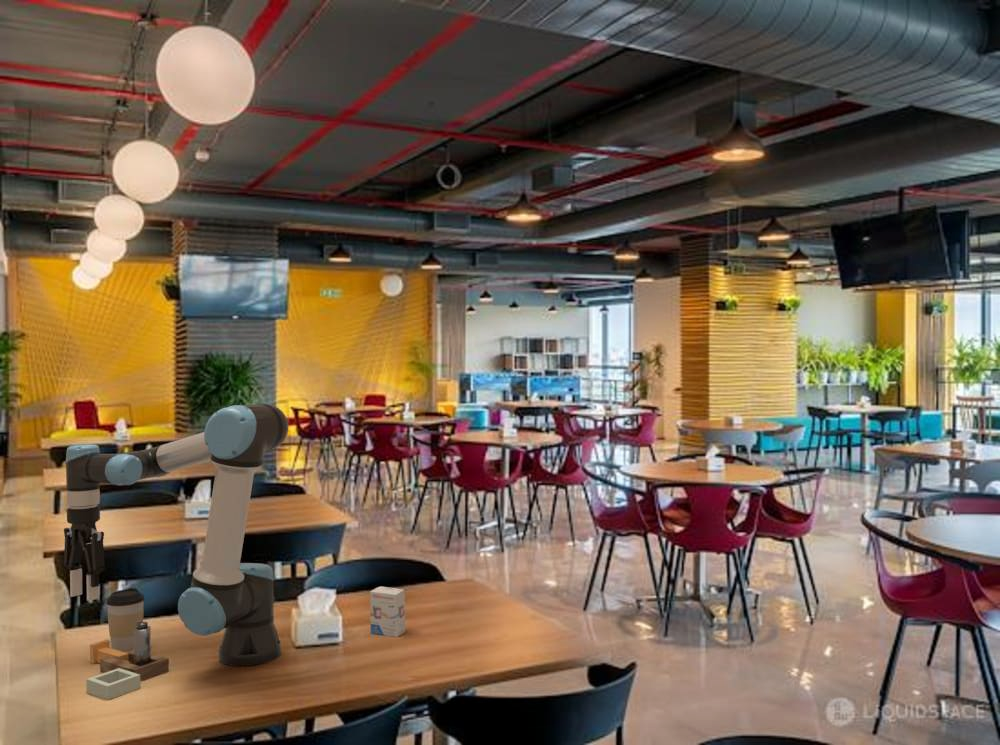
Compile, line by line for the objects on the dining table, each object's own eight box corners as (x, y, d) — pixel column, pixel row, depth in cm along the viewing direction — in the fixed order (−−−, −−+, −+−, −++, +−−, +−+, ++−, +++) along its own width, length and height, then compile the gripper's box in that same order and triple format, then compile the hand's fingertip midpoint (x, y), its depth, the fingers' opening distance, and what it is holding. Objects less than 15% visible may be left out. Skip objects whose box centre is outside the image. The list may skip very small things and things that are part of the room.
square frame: (140, 687, 191) (140, 674, 191) (107, 699, 184) (107, 686, 184) (119, 680, 195) (119, 668, 195) (86, 692, 188) (86, 679, 188)
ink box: (369, 633, 228) (368, 590, 228) (378, 628, 233) (378, 585, 233) (396, 637, 225) (396, 593, 225) (405, 631, 230) (405, 588, 229)
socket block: (168, 671, 201) (168, 658, 201) (134, 683, 194) (134, 670, 194) (134, 660, 208) (134, 648, 208) (100, 672, 201) (100, 659, 201)
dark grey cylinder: (154, 673, 200) (153, 622, 200) (140, 678, 197) (140, 626, 197) (144, 670, 202) (144, 619, 202) (131, 675, 199) (130, 623, 199)
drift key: (131, 664, 205) (131, 646, 205) (115, 670, 201) (115, 652, 201) (106, 656, 211) (106, 639, 211) (90, 662, 207) (89, 644, 207)
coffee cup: (130, 656, 212) (129, 597, 211) (98, 654, 213) (98, 595, 213) (152, 644, 221) (151, 587, 220) (121, 642, 222) (121, 585, 222)
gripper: (120, 507, 209) (121, 599, 210) (75, 500, 220) (76, 588, 220) (91, 512, 203) (93, 606, 203) (47, 505, 213) (48, 595, 214)
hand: (84, 597), depth 212 cm, fingers open, 6 cm apart
